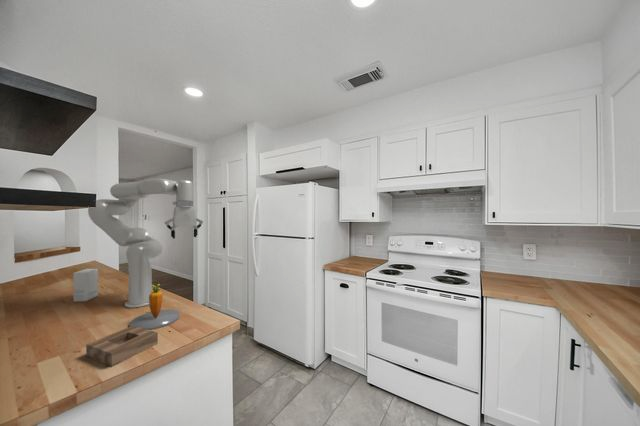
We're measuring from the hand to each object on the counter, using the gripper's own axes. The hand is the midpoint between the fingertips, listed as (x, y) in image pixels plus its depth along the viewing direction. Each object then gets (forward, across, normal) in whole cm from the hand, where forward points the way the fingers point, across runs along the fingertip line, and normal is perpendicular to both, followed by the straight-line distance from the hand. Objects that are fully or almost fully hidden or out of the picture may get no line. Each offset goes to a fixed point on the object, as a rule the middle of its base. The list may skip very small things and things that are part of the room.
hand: (184, 237), depth 123 cm
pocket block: (+34, -24, -33) cm, 53 cm away
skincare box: (+34, -41, +41) cm, 67 cm away
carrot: (+34, -13, -13) cm, 38 cm away
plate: (+34, -13, -13) cm, 39 cm away
